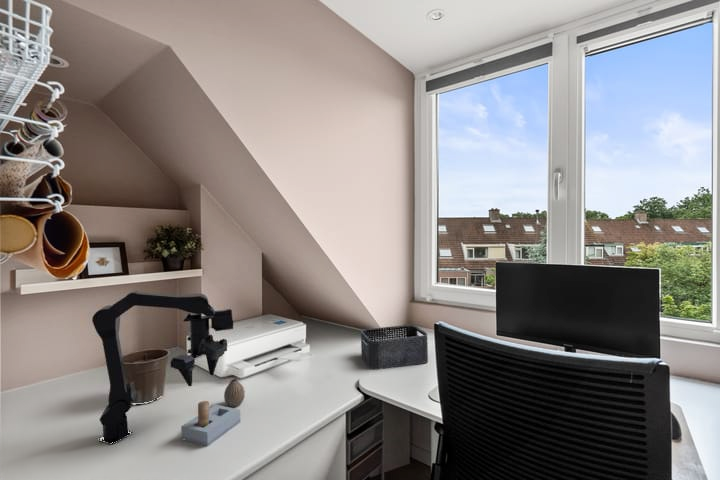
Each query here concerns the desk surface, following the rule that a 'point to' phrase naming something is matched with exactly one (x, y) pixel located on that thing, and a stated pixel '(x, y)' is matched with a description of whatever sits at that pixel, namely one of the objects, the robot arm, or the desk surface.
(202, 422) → the dowel
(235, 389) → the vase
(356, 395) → the desk surface
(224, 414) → the socket block
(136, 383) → the plant pot
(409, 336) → the storage bin
